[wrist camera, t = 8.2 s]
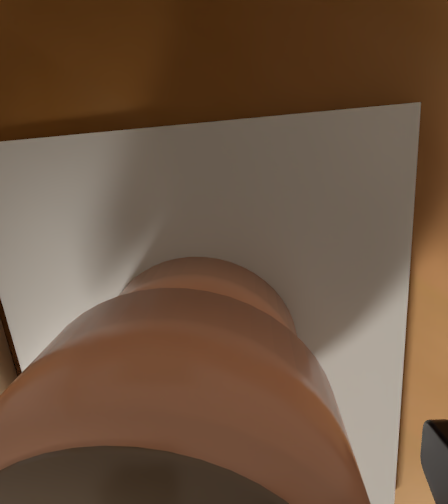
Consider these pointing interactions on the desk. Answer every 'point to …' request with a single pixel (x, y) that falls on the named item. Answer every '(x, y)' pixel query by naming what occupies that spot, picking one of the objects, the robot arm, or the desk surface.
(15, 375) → the frame
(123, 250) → the stone tile
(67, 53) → the desk surface
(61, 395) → the seedling pot
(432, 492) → the robot arm
